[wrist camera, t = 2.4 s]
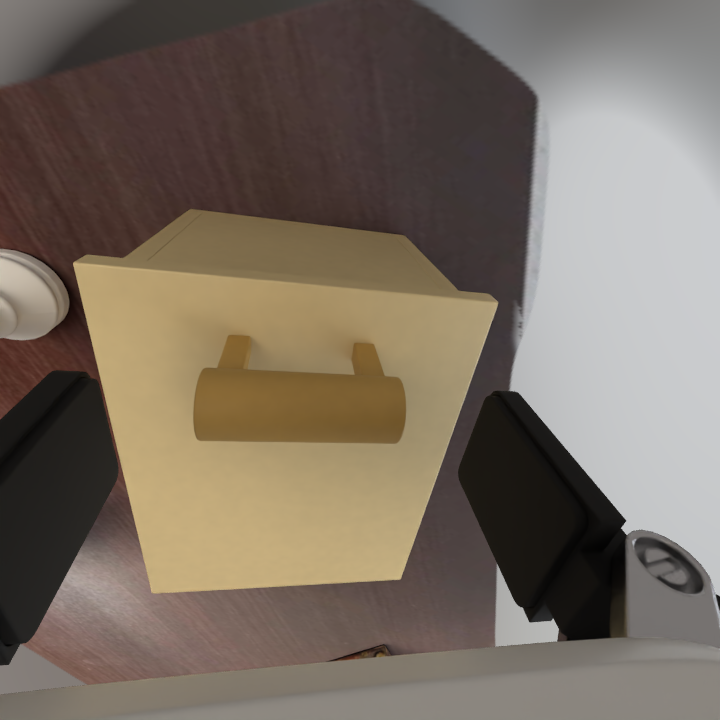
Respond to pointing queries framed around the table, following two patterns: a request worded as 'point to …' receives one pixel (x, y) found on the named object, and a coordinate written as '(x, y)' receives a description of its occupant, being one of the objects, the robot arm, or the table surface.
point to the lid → (277, 416)
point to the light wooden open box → (291, 249)
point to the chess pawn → (29, 297)
